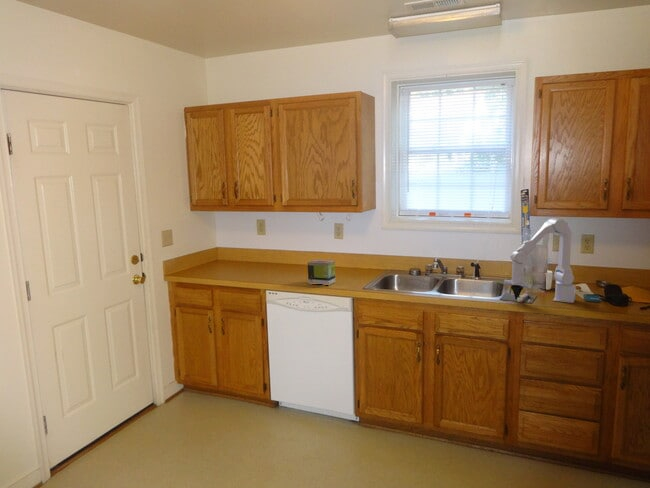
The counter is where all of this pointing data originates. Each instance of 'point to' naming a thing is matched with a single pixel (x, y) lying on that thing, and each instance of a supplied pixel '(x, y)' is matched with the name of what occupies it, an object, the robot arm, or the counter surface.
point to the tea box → (321, 271)
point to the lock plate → (512, 298)
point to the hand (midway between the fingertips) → (516, 299)
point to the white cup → (548, 279)
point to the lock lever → (523, 297)
